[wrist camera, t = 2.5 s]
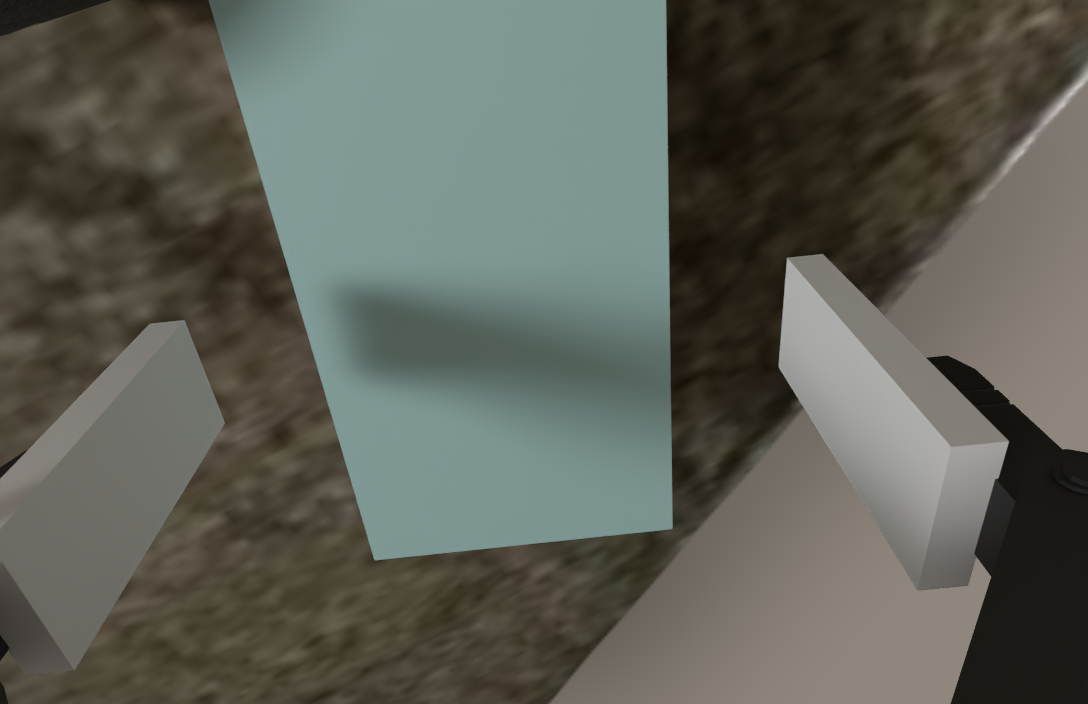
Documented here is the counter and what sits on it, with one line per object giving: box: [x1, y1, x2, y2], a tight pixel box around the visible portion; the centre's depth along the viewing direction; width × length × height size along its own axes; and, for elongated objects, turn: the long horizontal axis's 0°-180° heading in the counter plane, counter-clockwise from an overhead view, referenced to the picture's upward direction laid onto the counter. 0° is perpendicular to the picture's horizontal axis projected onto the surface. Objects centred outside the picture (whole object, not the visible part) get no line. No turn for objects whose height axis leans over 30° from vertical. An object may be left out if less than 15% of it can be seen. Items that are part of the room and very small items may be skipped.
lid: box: [209, 0, 672, 560], centre depth 20 cm, size 10×18×3 cm, turn 6°
